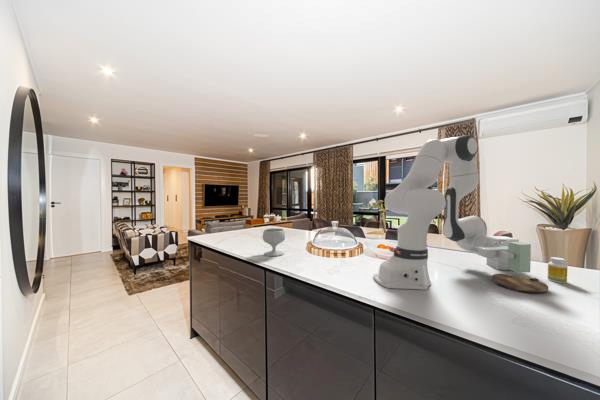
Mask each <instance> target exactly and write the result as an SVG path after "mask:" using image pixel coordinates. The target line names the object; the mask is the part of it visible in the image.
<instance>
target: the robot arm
mask: <svg viewBox="0 0 600 400" xmlns="http://www.w3.org/2000/svg"><path fill="white" fill-rule="evenodd" d="M478 143H479V142H478V140H477V139H476V138H475V137H474V136H473V135H471V134H464V135H463V134H462V135H459V136H454V137H446V138H443V139H437V138H436V139H433V138H432V139H429V140H427V141H425V143H423V145H422V146H421V148H420V149H419V151H418V153H417V154H416V156H415V158H414V161H413V163H412V165H411V168H410V169H409V172H408V174H407V175H406V176H405V177H404V179H403V180H402V181H401V182H400V183H399V184H398V185H397V186H396V187H395V188H393V189H391V190H390V191H389V192H387V193H386V195H385V197H384V206H385V208H386V209H387V210H388V211H390V212H392V213H395V214H400V215H407V220H406V221H405V223H402V224H401V225H399V227H398V228H397V245H396V247H394V246H389V248H388V250H389V252H391V253H393V254H391V256H390V257H388V258H387V259H385V260H384V261H383V262H381V263H380V266H379V269H378V272H377V273H373V279H374V281H375V282H376V283H378V284H379V285H380V286H383V287H384V288H388V289H397V290H398V289H399V290H400V289H401V290H407V289H408V290H423V291H425V290H426V291H427V290H428V287H429V286H430V285H431V284H432V282H431V280H430V275H429V269H428V260H429V259H428V258H429V251H428V250H429V249H428V245H427V244H428V243H427V242H428V232H429V229H430V225H431V223H432V222H433V220H434V219H435V218H436V217H437V216H439V215H440V214H442V212H443V213H444V215H443V224H442V233H443V235H444V236H445V237H446V239H448V240H449V241H453V242H455V243H456V245H457V246H458V247H460V249H462V250H464V251H466V252H470V253H473V254H476V255H478V256H481V257H483V258H486V259H487V258H496V257H508V258H516V254H513V253H508V242H510V241H507V240H497V239H493V238H488V237H487V236H488V235H487V234H488V231H487V230H488V228H487V223H486V222H485V220H484V219H483V218H482V217H479V216H478V215H474V214H473V215H469V216H465V217H462V218H459V204H460V202H461V200H462V199H463V198H464V197H465V196H467V195H468V194H470V193H471V192H473V191H474V190H475V189H476V188H477V187H478V185H479V183H480V182H479V181H480V177H479V169H478V164H477V161H476V158H475V157H476V155H477V153H478V150H479V144H478ZM446 163H447V164H448V171H449V184H448V187H447V189H446V190H445V193H444V194H443V193H442V192H441V191H440V190H437V189H432V188H430V187H431V186H433V185H434V184H435V183H436V182H437V180H438V178H439V176H440V173H441V170H442V168H443V166H444V164H446Z"/></svg>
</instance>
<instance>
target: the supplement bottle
mask: <svg viewBox="0 0 600 400" xmlns="http://www.w3.org/2000/svg"><path fill="white" fill-rule="evenodd" d="M547 280H548V281H551V282H554V283H558V284H567V282H568V264H566V259H565V258H562V257H557V256H556V257H555V256H551V257H550V261H548V263H547Z"/></svg>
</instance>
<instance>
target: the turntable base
mask: <svg viewBox="0 0 600 400" xmlns="http://www.w3.org/2000/svg"><path fill="white" fill-rule="evenodd" d="M498 285H500V286H502V287H503V288H507V289H510V290H513V291H515V292H516V291H517V292H522V293H527V294H528V293H529V294H540V293H541V292H530V291H523V290H518V289H514V288H510V287H507V286H504V285H501V284H498Z"/></svg>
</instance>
